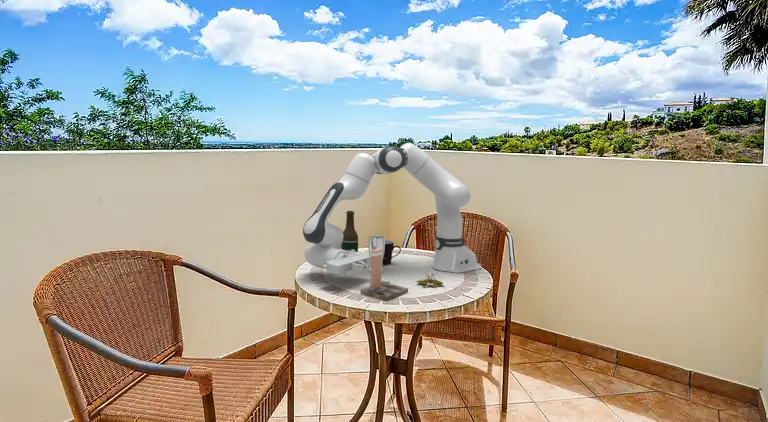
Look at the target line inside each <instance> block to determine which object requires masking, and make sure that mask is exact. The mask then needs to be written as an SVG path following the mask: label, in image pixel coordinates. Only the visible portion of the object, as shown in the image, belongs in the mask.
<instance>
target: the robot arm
mask: <svg viewBox="0 0 768 422" xmlns="http://www.w3.org/2000/svg"><path fill="white" fill-rule="evenodd" d="M402 168H403V169H404V170H405V171H407V172H408V174H410V175H411V176H412V177H414V179H415V180H416V181H418V182H419V183H420V184H421V185H422V186H424V187H425V188H426V189H427V190H429V191H430V192H431V193H433V194H434V199H435V208H436V218H437V219H436V220H437V221H436V222H437V223H436V235H435V239H434V240H435V241H434V242H435V244H434V248H435V249H434V250H435V251H434V256H433V260H432V264H431V268H432V269H434V270H438V271H442V272H450V273H451V272H452V273H454V274H455V273H456V274H461V273H466V272H467V273H468V272H471V271H477V270H482V265H481V264H480V263H478V261H477V255H476V254H475V252H473V251H472V250H471V249H470V248H469V247H468V246H467V245H465V244H469V243H470V239H469V238H467V237H465V238H464V237H463V221H464V220H463V216H462V212H461V208H463V207H465V206H467V205H468V204H469V202H470V200H471V195H472V194H471V191H470V189H469V188H468V187H467V186H466V185H465V184H464V183H462V182H461V181H460V180H459V179H458V178H457V177H456V176H454V175H453V174H451V173H450V172H449V171H447V170H446V169H445V168H443V167H442V166H441V165H440V164H439V163H437V161H435V160H434V159H433V158H432V157H431V156H430V155H429V154H428V153H427V152H426V151H424V150H423V149H422V148H420V147H419V146H418V145H415V144H413V143H412V142H406V143H404V144H402V145H401V146H400V147H397V146H394V145H393V146H392V145H388V146H385V147H381V148H379V149H377V150H375V151H374V152H372V154H371V153H370V154H369V153H365V152H359V153H356V154H355V156H354V157H352V159H351V160H350V163H349V164H348V166H347V168H346V169H345V172H344V173H343V175H342V177H341V178H340V179H339V181H338V182H335V183H334V184H332V185H331V186H330V187H329V189H328V190H327V191H326V193H325V195H324V197H323V198H322V199H321V201H320V203H319V204H318V206H317V207H316V209H315V210H314V212H313V213H312V214H311V216H310V217H308V219H307V220H306V221H305V222H304V225H303V227H302V234H303V238H304V240H305V241H306V242H308V243H310V244H309V245H307V246H306V248H305V250H304V252H303V253H304V259H305V260H306V262H307V263H308V264H309V265H311V266H312V267H313V266H314V267H316V268H320V269H325V270H326V272H328V273H330V274H334V275H341V274H344V273H348V272H351V271H354V270H355V271H356V270H357V271H358V270H359V271H363V270H366V269H369V266H370V264H371V256H370V255H369V253H364V252H359V251H358V252H355V250H353V249H349V250H342V249H341V245H342V243H343V239H344V234H343V231H344V230H342V228H341V227H339V226H337V225H334V224H332V223H330V222H328V219H329V217H330V216H331V215H332V212H333V211H334V209H335V208H336V206H337V205H338V204H339V203H340V202H342V201H345V200H347V201H348V200H351V201H353V200H357V199H360V198H361V197H363V195H364V194H365V193H366V191H367V190H368V187H369V185H370V182H371V181H372V178H373V177H374V175H375V174H376V175H377V174H378V175H389V174H392V173H396V172H398V171H399V170H401V169H402Z"/></svg>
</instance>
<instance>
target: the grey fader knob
mask: <svg viewBox="0 0 768 422" xmlns="http://www.w3.org/2000/svg"><path fill="white" fill-rule="evenodd" d="M381 282H382V285H384V286H389V285H390V284H391V281H390V280H389V279H388V280H387V279H382V280H381Z"/></svg>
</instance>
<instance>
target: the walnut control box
mask: <svg viewBox="0 0 768 422" xmlns="http://www.w3.org/2000/svg"><path fill="white" fill-rule="evenodd" d="M376 289H378V288H373V287H372V288H371V287H370V285H365V286H364V288H361V289H360V294H361V295H363V296H367V297H370V296H371V298H374V297H375V298H374V299H377V298H378V300H380V301H381V300H382V301H385V302H388V301H391V300H393V299H395V298H398V297H401V296H402V295H404V294H408V293H409V288H407V287H404V286H399V285H396V284H393V283H390V285H389V286H384V285H382V281H381V287H379V289H386V290H387V291H386V292H384V293H375V292H374V290H376Z"/></svg>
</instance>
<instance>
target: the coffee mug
mask: <svg viewBox="0 0 768 422" xmlns="http://www.w3.org/2000/svg"><path fill="white" fill-rule="evenodd" d="M394 244H395V242H394V240H390V239H385V251H384V256H383V262H382V266H388V265H391V264H392V259H393V258H395V257H397V256H399V254H401V252H402V249H401V247H400V246H399V245H394ZM395 248H398V249H399V252H398V253H397V254H395V255H393V251H394V250H395Z"/></svg>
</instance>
